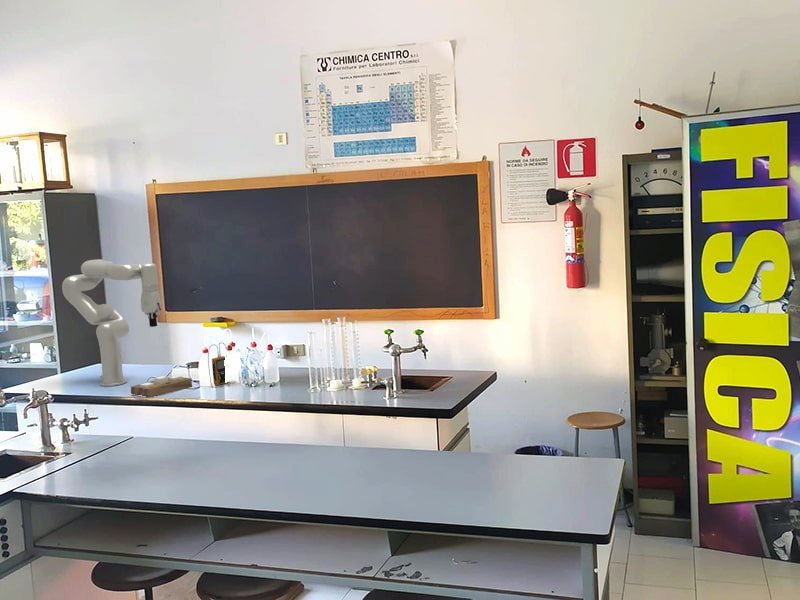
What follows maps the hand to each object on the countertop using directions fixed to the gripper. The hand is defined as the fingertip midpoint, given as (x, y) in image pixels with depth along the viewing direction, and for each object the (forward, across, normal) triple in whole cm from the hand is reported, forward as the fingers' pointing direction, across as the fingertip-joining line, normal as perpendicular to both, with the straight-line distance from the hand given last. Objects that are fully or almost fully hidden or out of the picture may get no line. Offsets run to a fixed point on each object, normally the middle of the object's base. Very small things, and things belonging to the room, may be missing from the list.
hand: (153, 326), depth 370 cm
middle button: (+27, +13, -8) cm, 31 cm away
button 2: (+29, +13, 0) cm, 32 cm away
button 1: (+29, +13, -16) cm, 35 cm away
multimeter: (+29, +33, +14) cm, 46 cm away
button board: (+29, +13, -8) cm, 33 cm away
